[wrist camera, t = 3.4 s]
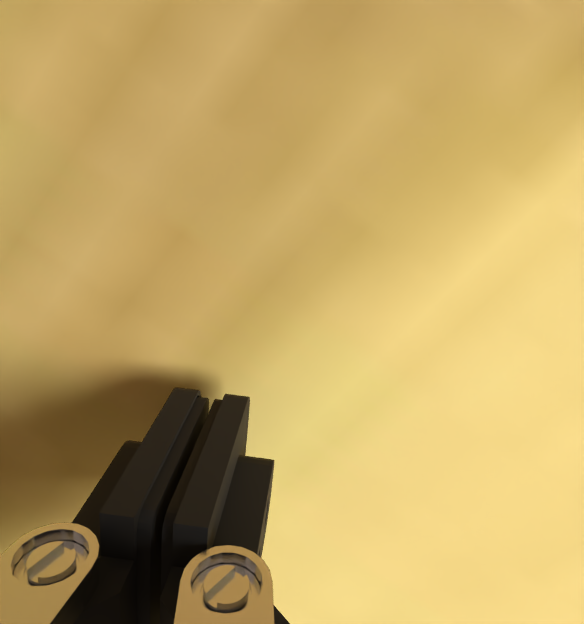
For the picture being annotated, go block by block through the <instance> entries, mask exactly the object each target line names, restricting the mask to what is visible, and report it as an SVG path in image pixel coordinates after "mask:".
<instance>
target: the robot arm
mask: <svg viewBox="0 0 584 624" xmlns="http://www.w3.org/2000/svg"><path fill="white" fill-rule="evenodd" d="M249 405H250V398H249V397H246V396H238V395H230V394H225V395H224V398H223V400H219V399H215V400H214V402H213V404H212V407H211V409H210V411H209V414H208V410H209V399H208V398H203V397H201V392H200V391H199V390H192V389H184V388H174V390H173V391H172V393H171V395H170V396H169V398H168V400H167V401H166V403H165V405H164V406H163V408H162V410H161V411H160V413H159V415H158V416H157V418H156V420H155V421H154V423H153V425H152V426H151V428H150V430H149V431H148V433H147V435H146V436H145V438H144V440H143V441H142V442H137V441H127V442H125V443H124V445H123V446H122V447H121V449H120V450H119V452H118V453H117V455H116V456H115V458H114V459H113V461H112V463H111V464H110V466H109V467H108V469H107V470H106V472H105V473H104V475H103V476H102V478H101V479H100V481H99V482H98V484H97V485H96V487H95V488H94V490H93V492H92V493H91V495H90V496H89V498H88V499H87V501H86V502H85V504H84V505H83V507H82V508H81V510H80V511H79V513H78V514H77V516H76V517H75V519H74V520H73V522H72V523H67V522H64V523H54V524H49V525H45V526H42V527H39V528H36V529H34V530H32V531H30V532H28V533H26V534H24V535H23V536H21V537H20V538H19V539H18V540H16V541H15V542H14V543H13V544H12V545H11V546H10V547H9V548H8V549H7V550H6V551H5V552H4V553H3V554H2V555H1V556H0V624H290V623H289V622H288V621H287V620H286V619H285V618H284V616H283V615H282V614H281V613H280V612H279V611H278V610H277V608H276V607H275V606H274V605H273V583H272V577H271V573H270V570H269V568H268V566H267V565H266V563H265V562H264V560H263V559H262V558H261V556H262V550H263V544H264V538H265V532H266V525H267V519H268V512H269V504H270V497H271V488H272V479H273V470H274V460H271V459H264V458H256V457H249V456H245V453H246V441H247V429H248V417H249Z"/></svg>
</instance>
